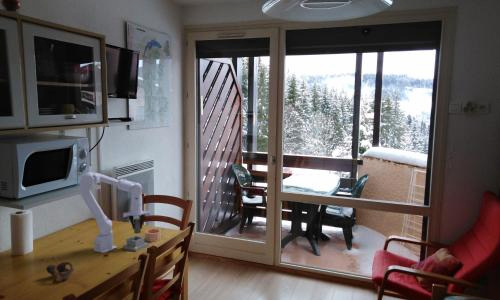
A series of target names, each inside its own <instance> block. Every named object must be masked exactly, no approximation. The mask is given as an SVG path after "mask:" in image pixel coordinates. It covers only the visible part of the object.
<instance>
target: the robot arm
mask: <svg viewBox="0 0 500 300" xmlns="http://www.w3.org/2000/svg"><path fill="white" fill-rule="evenodd" d="M94 183H95V184H99V183H105V184H109V185H112V186H115V187H117V190H121V191H124V192H127V193H131V197H130V198H131V199H130V200H131V211H129V212H123V213H122V215H123V218H126V217H127V218H128V220H129V221H130V224H131V226H132V229H133V230H134V219H135V218H134V217H139V216H140V219H141V229H142V228H143V224H144V221H145V220H146V219H145V218H146V216H151V210H143V196H142V195H143V194H142V192H143V186H142V184H140V183H139V182H135V181H130V180H127V179H126V178H120V179H116V178H113V177H111V176H108V175H106V174H102V173H99V172H94V171H90V170H89V171H86V173H84V175H83V176H82V177H81V179H80V181H79V194H80V195H81V197H82V200H84V203H85V204H86V206H87V209H89V211H90V212H91V214H92V216H93V217H94V219H95V221H96V225H97V227H98V231H99V232H98V235H97V236H95V237H94V242H93V243H94V246H93V247H94V249H93V251H94V252H98V253H101V254H104V253H108V252H109V251H113V250H114V249H117V248H118V247H117V246H116V245H114V231H113V229H112V228H113V221H112V220H111V219H109V218H108V217H107V215H106V214H105V213H104V211H103V210H102V208H101V206H100V205H99V203H98V201H97V200H96V198H95V197H94V194H93V193H92V191H91V188H92V187H93V184H94Z"/></svg>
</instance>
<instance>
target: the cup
mask: <svg viewBox="0 0 500 300" xmlns="http://www.w3.org/2000/svg"><path fill="white" fill-rule="evenodd" d="M144 238H145V241H146V242H147V243H154V242H159V241H160V240H161V239H162V231H161V229H159V228H149V229H146V230H145V232H144Z"/></svg>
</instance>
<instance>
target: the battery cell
mask: <svg viewBox="0 0 500 300" xmlns="http://www.w3.org/2000/svg"><path fill="white" fill-rule="evenodd" d="M141 231H142V230H141V218H134V229H133V233H134V234H140V233H142V232H141Z"/></svg>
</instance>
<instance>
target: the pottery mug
mask: <svg viewBox="0 0 500 300" xmlns="http://www.w3.org/2000/svg"><path fill="white" fill-rule="evenodd" d="M68 265H69V267H70V268H67V267H66V266H68ZM73 267H74V266H73V264H72V262H70V261H63V260H62V261H59V262H57V264H55V265H53V264H49V265H47V266H46V268H45V270H46V272H47V273H48V274H50V275H51V277H53V276H56V279H55V281H56V282H58V281H60V282H61V281H63V280H65V279H67V278H69V277H70V276H71V275H72V274H74V271H75V269H74V268H73Z"/></svg>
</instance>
